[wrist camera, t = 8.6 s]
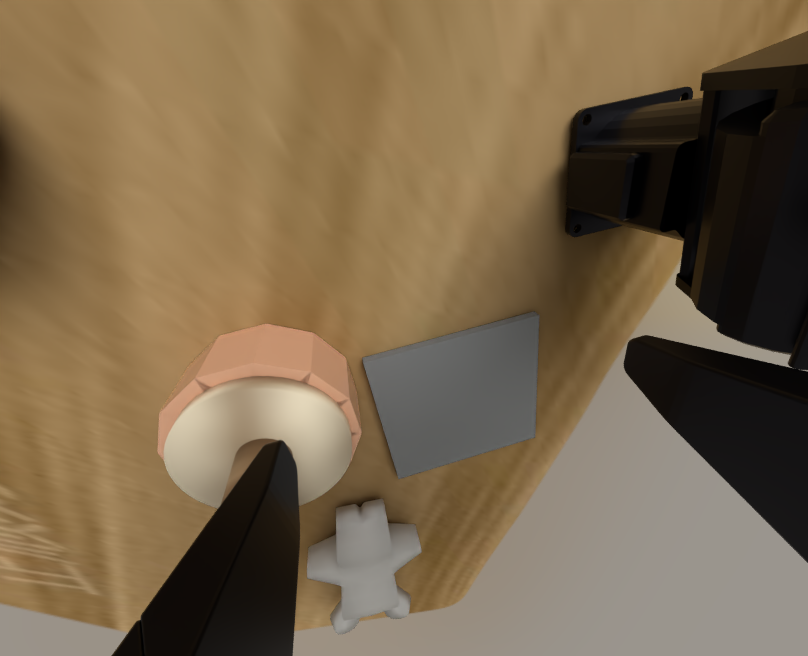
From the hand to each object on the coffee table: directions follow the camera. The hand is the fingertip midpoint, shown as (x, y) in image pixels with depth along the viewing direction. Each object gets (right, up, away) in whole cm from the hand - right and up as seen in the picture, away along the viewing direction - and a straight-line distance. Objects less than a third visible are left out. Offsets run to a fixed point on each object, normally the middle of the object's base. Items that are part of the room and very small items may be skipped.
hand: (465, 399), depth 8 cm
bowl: (-10, -3, +13) cm, 17 cm away
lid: (-9, -4, +10) cm, 14 cm away
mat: (+3, -4, +17) cm, 17 cm away
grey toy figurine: (-5, -18, +23) cm, 30 cm away
